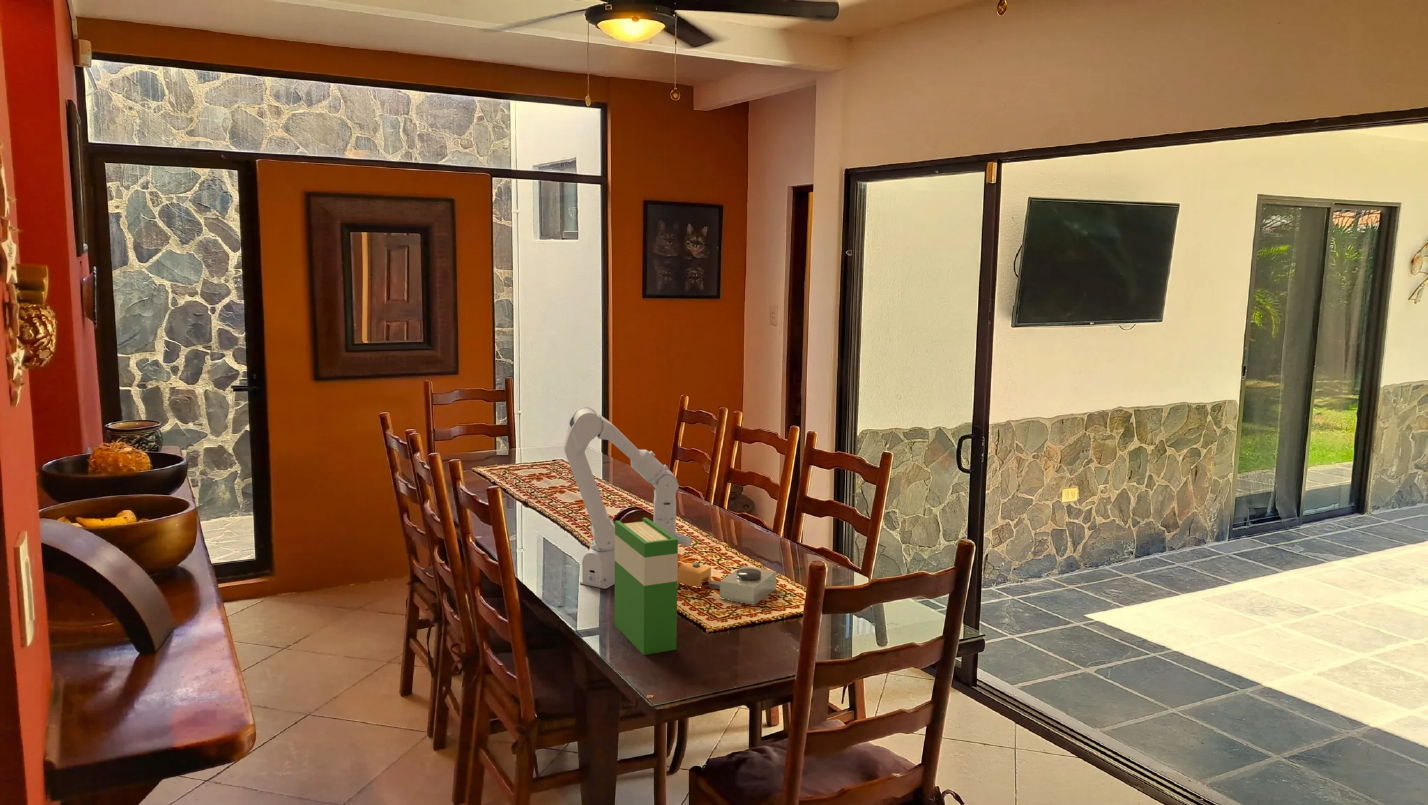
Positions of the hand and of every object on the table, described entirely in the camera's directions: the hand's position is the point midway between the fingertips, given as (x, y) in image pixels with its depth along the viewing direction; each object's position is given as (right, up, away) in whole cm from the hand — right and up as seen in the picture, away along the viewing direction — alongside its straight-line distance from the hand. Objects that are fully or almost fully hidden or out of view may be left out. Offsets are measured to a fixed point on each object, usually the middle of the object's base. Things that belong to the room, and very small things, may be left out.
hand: (664, 568), depth 247 cm
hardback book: (-2, -9, -38) cm, 39 cm away
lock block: (+7, -3, -4) cm, 9 cm away
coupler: (+18, -4, -9) cm, 21 cm away
